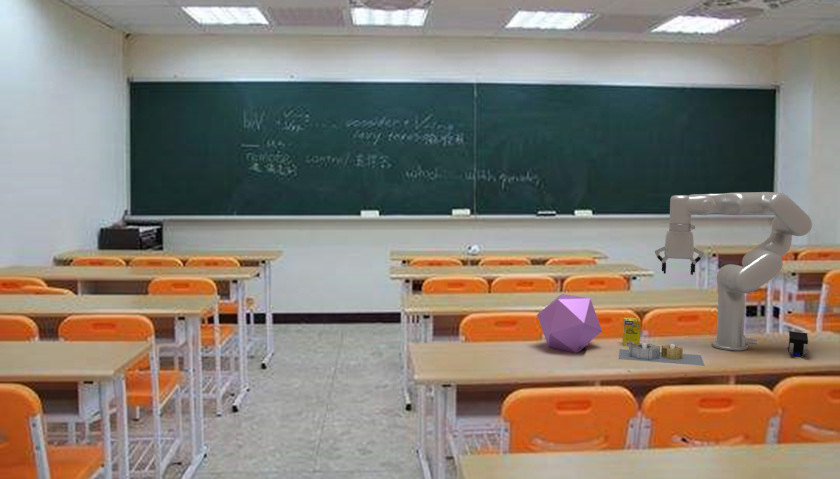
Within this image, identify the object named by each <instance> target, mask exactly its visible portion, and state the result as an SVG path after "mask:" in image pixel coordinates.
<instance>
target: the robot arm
mask: <svg viewBox="0 0 840 479" xmlns="http://www.w3.org/2000/svg"><path fill="white" fill-rule="evenodd" d="M669 200H670V203H669V226H668V227H669V228H668V229H669V230H668V231H666V235H665V241H664V242H665V243H664V246H663V247H662V246H661V247H659V248H658V249H656V250H654V253H655V255H656V258H657V259H658V261H660V262H661V272H663V274H664V275H665V274H666V273H667V263H666V262H667V260H668V259H675V260H677V259H679V260H680V259H682V260H690V262H691V264H690V275H691V276H693V275H694V274H695V272H696V264H698V262H700V261H701V259H702V258H703V256H704V255H705V254H704V252H703V251H702V250H699V249H698V248H696V247H694V235H693V233H694V232H692V230H695V229H696V225H692V215H698V216H707V215H711V214H719V215H720V214H721V215H727V216H756V215H759V216H763V215H764V216H765V215H767V216H768V215H769V216H774V218H773V219H772V222H771V231H770V235H769V236H768V237H767V239H765V240H764V241H763V242H761V243H760V244H758V245H757V246H755V247H754V248H752V249H751V250H749V251H748V252H746V253H745V254H744V256H743V257H742V260H741V264H742V266H741V265H737V264H734V263H731V264H730V263H729V264H725V265H724V266H723V265H722V266H721V267H720V269H718V272H717V274H716V285H717V296H718V297H717V315H716V316H717V321H716V322H717V323H716V340H714V341H712V342H711V346H712V347H714V348H715V349H721V350H724V351H734V352H735V351H739V352H740V351H746V350H748V347H749V345H754V346H755V345H757V346H758V339H753V338H748V337H746V336H745V318H746V315H745V314H746V313H745V312H746V294H750V293H752V292H755V291H756V290H758V289H760V288H761V287H762V286H764V285H765V284H766V283H768V282H769V281H771V280H772V279H775V277H777V276H778V274H779V273H780V272H781V270H782V269H783V266H784V265H783V259H782V258H783V257H784V256H785V255H787V254H788V252H789V250H790V249H791V246H792V240H793V236H794V237H804V236H806V235H808V234H809V233H810V231H811V230H812V227H813V223H812V219H811V218H810V216H809V215H808V214H807V213H806V212H805V211H804V210H803V209H802V208H801V207H800V206H799V205H798V204H797V203H796V202H795V201H794V200H792V199H791V198H790V196H788V195H786V194H785V193H783V192H772V191H771V192H770V191H761V192H760V191H759V192H756V191H755V192H752V191H751V192H749V191H747V192H727V193H726V192H725V193H705V194H704V193H703V194H701V193H700V194H699V193H696V194H689V195H686V194H683V195H681V194H679V195H677V194H675V195H671V197H670V199H669ZM661 252H664V257H662V255H661V254H660V253H661ZM694 252H695V253H696V254H698V256H697V257H695V258H694Z"/></svg>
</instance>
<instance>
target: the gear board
mask: <svg viewBox="0 0 840 479" xmlns="http://www.w3.org/2000/svg"><path fill="white" fill-rule="evenodd" d="M641 343H642V342H641ZM647 344H648V343H646V342H643V343H642V348H647ZM669 345H670V348H675V343H670V344H669ZM618 360H627V361H638V362H640V361H641V362H651V363H664V364H665V363H667V364H676V365H677V364H678V365H679V364H680V365H690V366H691V365H692V366H701V367H702V366H704V367H705V363H704V360H703V357H702V355H701V354H693V353H691V354H690V353H683V356H682V359H677V360H675V359H667V358H664V357H661V351H660V358H659V359H652V360H648V359H637V358H634V357H630V356H629V349H625V348H624V349H622V348H621V349H620V348H619V352H618Z"/></svg>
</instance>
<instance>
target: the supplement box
mask: <svg viewBox="0 0 840 479" xmlns="http://www.w3.org/2000/svg"><path fill="white" fill-rule="evenodd" d="M622 319H623V320H622V321H623V323H622V324H623V325H622V326H623V327H622V346H623V347H629V344H636V343H641V326H642V325H641V324H642V323H641V319H640V318H636V317H623V318H622Z"/></svg>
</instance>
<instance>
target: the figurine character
mask: <svg viewBox="0 0 840 479" xmlns="http://www.w3.org/2000/svg"><path fill="white" fill-rule="evenodd" d="M788 336H789V337H788V338H789V340H788V347H787V350H788V353H791V357H792V358H795V356H796V357H800V358H801V359H803V358H804V354H805V355H807V354H808V352H809V349H808V348H809V347H808V346H809V339H808V338H809V336H808V333H807V332H801V331H793V330H792V331H791V330H789V332H788Z"/></svg>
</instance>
